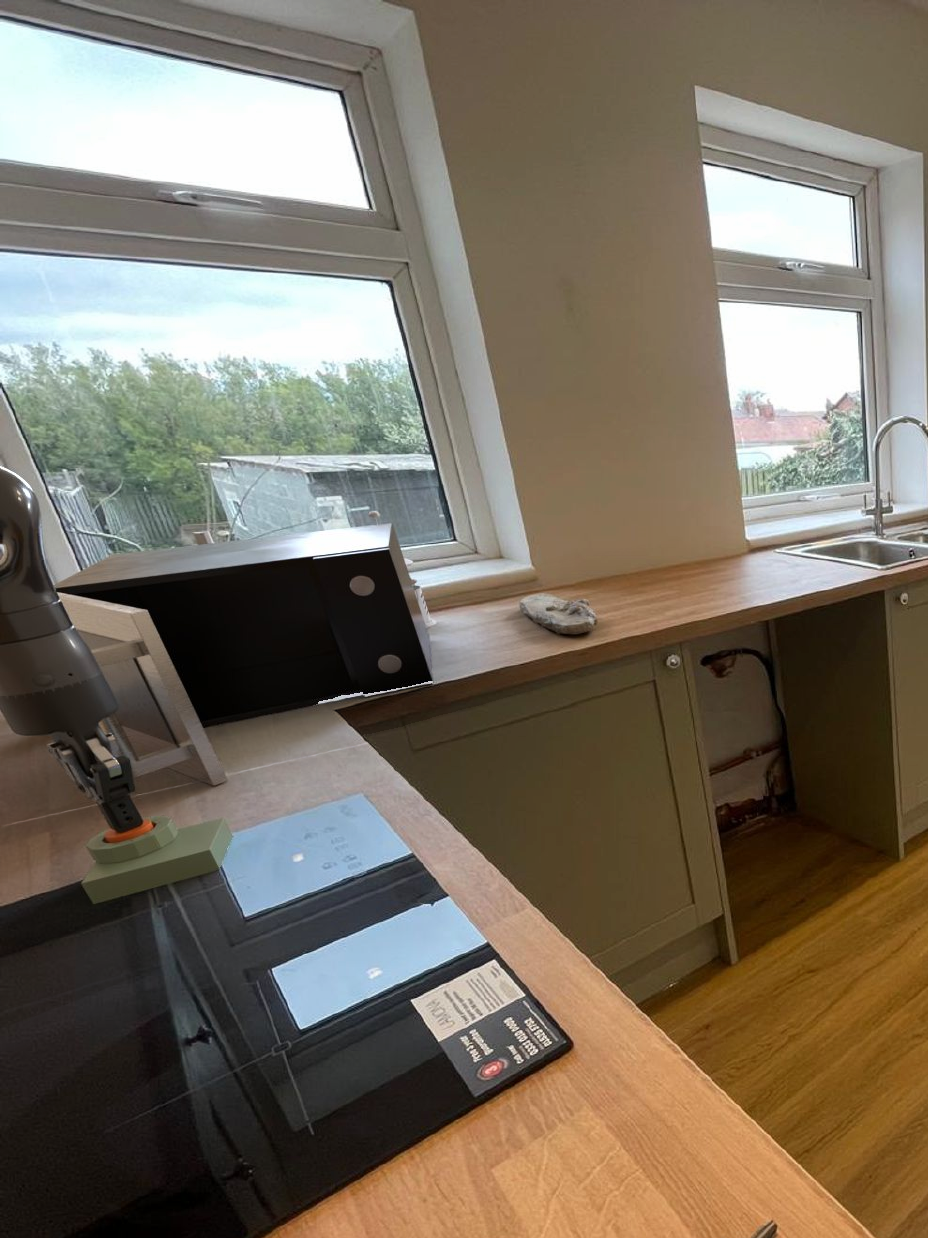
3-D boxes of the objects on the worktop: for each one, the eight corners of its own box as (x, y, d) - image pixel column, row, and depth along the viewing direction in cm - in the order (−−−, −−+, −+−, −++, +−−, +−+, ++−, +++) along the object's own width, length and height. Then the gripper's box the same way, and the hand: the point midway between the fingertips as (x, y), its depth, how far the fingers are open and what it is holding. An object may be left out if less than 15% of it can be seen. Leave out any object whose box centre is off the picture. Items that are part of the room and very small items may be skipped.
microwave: (434, 686, 132) (388, 548, 122) (121, 750, 113) (38, 592, 103) (430, 639, 157) (392, 522, 148) (174, 685, 138) (111, 554, 128)
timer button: (107, 855, 80) (99, 841, 79) (117, 839, 83) (110, 826, 82) (152, 843, 82) (145, 830, 81) (161, 829, 85) (154, 815, 84)
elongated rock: (556, 606, 182) (513, 618, 176) (549, 585, 180) (505, 596, 174) (611, 627, 157) (562, 642, 151) (604, 603, 155) (554, 616, 149)
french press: (425, 617, 173) (389, 505, 163) (449, 624, 167) (412, 509, 157) (377, 629, 166) (336, 513, 156) (399, 637, 160) (358, 517, 150)
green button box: (90, 906, 77) (68, 869, 76) (117, 862, 85) (98, 828, 83) (220, 870, 82) (202, 835, 80) (235, 832, 90) (219, 799, 88)
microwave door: (151, 809, 95) (55, 629, 86) (56, 767, 108) (-36, 606, 98) (228, 780, 102) (147, 609, 92) (130, 743, 114) (50, 590, 105)
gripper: (124, 674, 75) (200, 823, 82) (72, 657, 81) (147, 798, 88) (15, 702, 69) (107, 861, 76) (-34, 682, 75) (56, 832, 81)
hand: (128, 827), depth 82 cm, fingers closed
